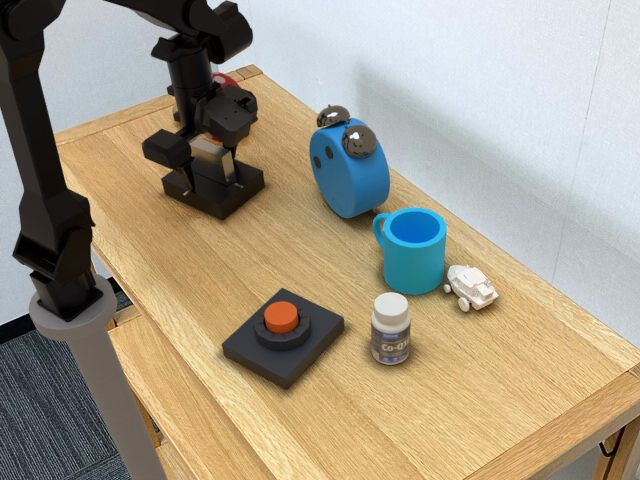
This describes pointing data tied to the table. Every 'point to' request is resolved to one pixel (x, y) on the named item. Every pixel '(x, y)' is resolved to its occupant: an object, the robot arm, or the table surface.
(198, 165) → the tap handle
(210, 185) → the base
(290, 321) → the button
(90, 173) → the table surface
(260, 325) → the button box
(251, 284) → the table surface
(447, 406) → the table surface
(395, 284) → the mug
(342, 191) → the alarm clock
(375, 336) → the pill bottle
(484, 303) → the toy car
